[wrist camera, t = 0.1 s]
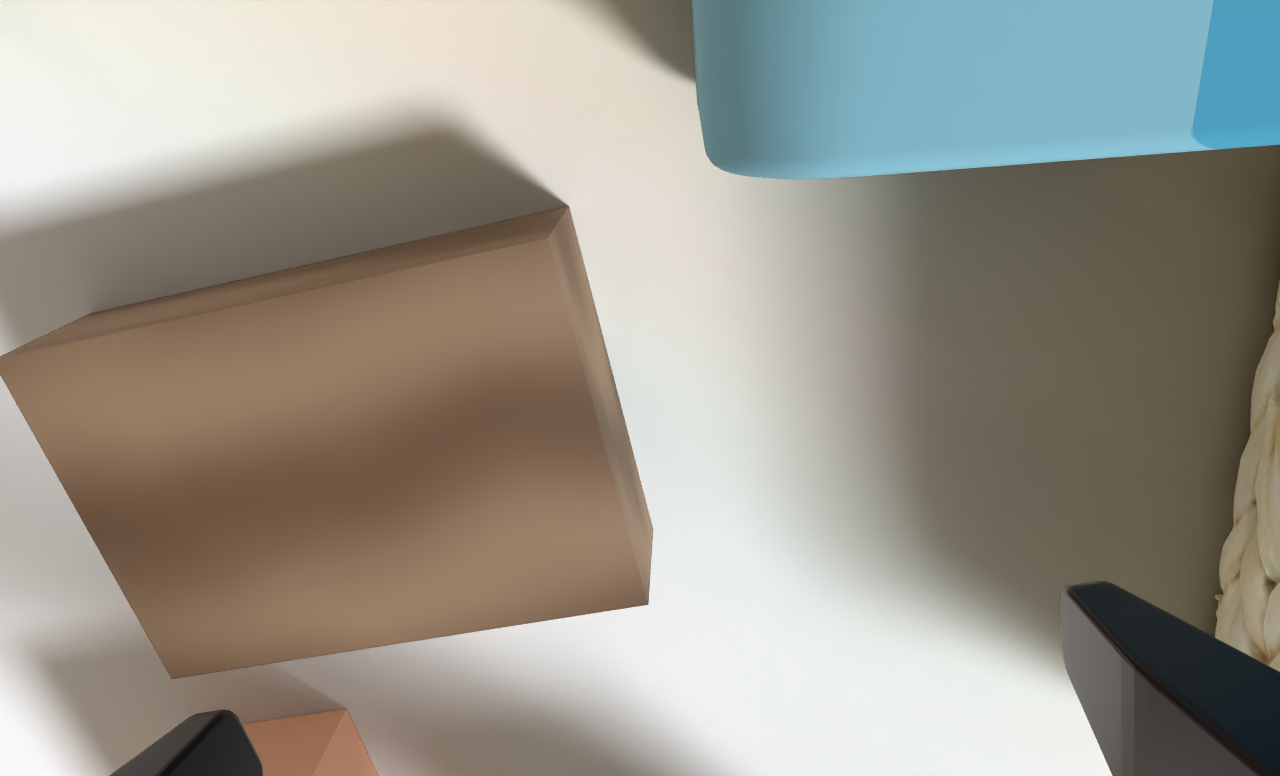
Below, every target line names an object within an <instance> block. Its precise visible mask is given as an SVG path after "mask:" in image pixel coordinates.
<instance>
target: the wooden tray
mask: <svg viewBox="0 0 1280 776" xmlns="http://www.w3.org/2000/svg"><path fill="white" fill-rule="evenodd" d="M0 375H1V377H2V379H3V380H4V382H5V384H6V386H7V388H8V389H9V391H10V393H11V395H12V396H13V398H14V400H15V402H16V404H17V405H18V407H19V409H20V411H21V412H22V414H23V416H24V418H25V420H26V421H27V423H28V425H29V427H30V428H31V430H32V432H33V434H34V435H35V437H36V439H37V441H38V443H39V444H40V446H41V448H42V450H43V451H44V453H45V455H46V457H47V459H48V460H49V462H50V464H51V466H52V467H53V469H54V471H55V473H56V475H57V476H58V478H59V480H60V482H61V483H62V485H63V487H64V489H65V490H66V492H67V494H68V496H69V498H70V499H71V501H72V503H73V505H74V506H75V508H76V510H77V512H78V514H79V515H80V517H81V519H82V521H83V522H84V524H85V526H86V528H87V530H88V531H89V533H90V535H91V537H92V538H93V540H94V542H95V544H96V545H97V547H98V549H99V551H100V553H101V554H102V556H103V558H104V560H105V561H106V563H107V565H108V567H109V569H110V570H111V572H112V574H113V576H114V577H115V579H116V581H117V583H118V585H119V586H120V588H121V590H122V592H123V593H124V595H125V597H126V599H127V600H128V602H129V604H130V606H131V608H132V609H133V611H134V613H135V615H136V616H137V618H138V620H139V622H140V624H141V625H142V627H143V629H144V631H145V632H146V634H147V636H148V638H149V640H150V641H151V643H152V645H153V647H154V648H155V650H156V652H157V654H158V655H159V657H160V659H161V661H162V663H163V664H164V666H165V668H166V670H167V671H168V673H169V675H170V677H171V679H175V678H181V677H187V676H194V675H200V674H207V673H213V672H220V671H226V670H232V669H239V668H245V667H252V666H258V665H264V664H271V663H277V662H284V661H290V660H296V659H303V658H309V657H316V656H322V655H328V654H335V653H341V652H348V651H354V650H361V649H367V648H373V647H380V646H386V645H393V644H399V643H405V642H412V641H418V640H425V639H431V638H437V637H444V636H450V635H457V634H463V633H469V632H476V631H482V630H489V629H495V628H502V627H508V626H514V625H521V624H527V623H534V622H540V621H546V620H553V619H559V618H566V617H572V616H578V615H585V614H591V613H598V612H604V611H611V610H617V609H623V608H630V607H636V606H643V605H648V601H649V586H650V570H651V555H652V540H653V527H652V523H651V519H650V516H649V512H648V508H647V504H646V500H645V496H644V492H643V489H642V485H641V481H640V477H639V473H638V469H637V466H636V462H635V458H634V454H633V450H632V446H631V443H630V439H629V435H628V431H627V427H626V423H625V419H624V416H623V412H622V408H621V404H620V400H619V396H618V393H617V389H616V385H615V381H614V377H613V373H612V370H611V366H610V362H609V358H608V354H607V350H606V346H605V343H604V339H603V335H602V331H601V327H600V323H599V320H598V316H597V312H596V308H595V304H594V300H593V297H592V293H591V289H590V285H589V281H588V277H587V273H586V270H585V266H584V262H583V258H582V254H581V250H580V247H579V243H578V239H577V235H576V231H575V227H574V224H573V220H572V216H571V212H570V208H569V206H567V207H563V208H558V209H554V210H550V211H545V212H541V213H536V214H532V215H527V216H523V217H518V218H514V219H509V220H505V221H501V222H496V223H492V224H487V225H483V226H478V227H474V228H469V229H465V230H460V231H456V232H452V233H447V234H443V235H438V236H434V237H429V238H425V239H420V240H416V241H411V242H407V243H403V244H398V245H394V246H389V247H385V248H380V249H376V250H371V251H367V252H362V253H358V254H354V255H349V256H345V257H340V258H336V259H331V260H327V261H322V262H318V263H313V264H309V265H305V266H300V267H296V268H291V269H287V270H282V271H278V272H273V273H269V274H264V275H260V276H256V277H251V278H247V279H242V280H238V281H233V282H229V283H224V284H220V285H215V286H211V287H207V288H202V289H198V290H193V291H189V292H184V293H180V294H175V295H171V296H166V297H162V298H158V299H153V300H149V301H144V302H140V303H135V304H131V305H126V306H122V307H117V308H113V309H108V310H104V311H100V312H95V313H91V314H88V315H86V316H84V317H82V318H80V319H78V320H76V321H74V322H71V323H69V324H67V325H65V326H63V327H61V328H59V329H57V330H55V331H53V332H50V333H48V334H46V335H44V336H42V337H40V338H38V339H36V340H34V341H32V342H29V343H27V344H25V345H23V346H21V347H19V348H17V349H15V350H13V351H11V352H8V353H6V354H4V355H2V356H0Z"/></svg>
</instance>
